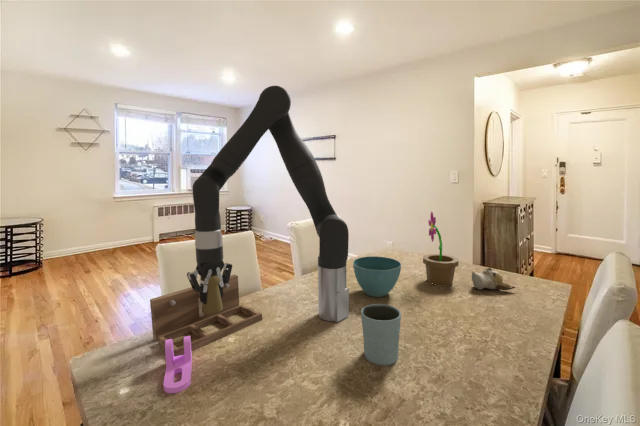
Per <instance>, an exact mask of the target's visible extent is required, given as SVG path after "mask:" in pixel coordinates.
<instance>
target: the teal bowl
mask: <svg viewBox="0 0 640 426" xmlns="http://www.w3.org/2000/svg"><path fill="white" fill-rule="evenodd" d="M352 264H353V265H352V268H353V273H354V276H355V279H356V281H357V283H358V285H359V287H360V288H361V289H362V291H363V292H364V293H365V294H366V295H368V296H369V297H372V298H382V297H386V296H387V295H388V294H389V293H391V292H392V290H393V289H394V287H395V286H396V284H397V282H398V280H399V278H400V275H401V271H402V269H401V268H402V263H401V262H400V261H399V260H397V259H395V258H391V257H386V256H378V255H377V256H375V255H374V256H362V257H358V258H356V259H354V260H353V262H352Z"/></svg>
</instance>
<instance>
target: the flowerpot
mask: <svg viewBox="0 0 640 426" xmlns="http://www.w3.org/2000/svg"><path fill="white" fill-rule="evenodd" d="M429 215H430V219H428V226H429V227H430V228H429V229H428V237H430V239H431V242H434V239H435V235H437V236H438V241H439V246H438V250H439V253H432V254H431V253H430V254H426V255H423V257H422V264H424V265H425V271H426V281H428V282H427V283H429V282H430V283H433V284H436V285H435V286H437V285H449V286H451V285H450V284H452V285H453V283H454V281H453V280H454V277H455V272H456V268H457V267H458V266H459V264H460V263H459V261H460V260H459V258H458V257H455V256H453V255H447V254H443V242H442V235H441V233H440V231H439V229H438V227H437V226H436V222H437V220H436V216H434V212H433V211H430V214H429ZM430 283H429V284H430ZM433 284H432V285H433Z"/></svg>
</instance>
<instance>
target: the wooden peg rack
mask: <svg viewBox="0 0 640 426" xmlns="http://www.w3.org/2000/svg"><path fill="white" fill-rule="evenodd" d="M239 289H240V288H239V275H237V274H232V275H230V279H229V283H228V284H225V285H224V286H223V297H222V299H221V300H222V305H223V310H222V311H220V312H218V313H214V314H205V313H203V312H202V304H203V303H202V302H201V301H200V292H197V291H194V290H193V288H192V286H191V287H187V288H184V289H181V290H177V291H174V292H171V293H167V294H164V295H161V296H157V297H153V298H151V299H149V303H150V304H149V305H150V306H149V307H150V314H151V325H152V326H151V327H152V339H153V340H154V341H155V342H158V344H159V345H160V346H161V347H162V348H164V349H165V341H166V340H168V339H172V340H175V339H177V338H180V337H182V336H183V337H184V336H186V335H187V334H191V333H192V334H193V335H195V336H196V337H197V338H198V339H196V340H193V341H191V352H194V351H196V350H197V349H198V350H199V349H200V348H202V347H204V346H207V345H208V344H209V345H210V344H211V343H213V342H215V341H218V340H219V339H222V338H224V337H227V336H228V335H231V334H234V333H235V332H237V331H240V330H242V329H245V328H247V327H250V326H251V325H254V324H255V323H258V322H261V321H262V320H263V313H261V312H260V311H256V310H254V309H252V308H250V307H248V306H246V305H244V304H240V293H239V292H240V291H239ZM241 313H243V314H245V315H247V316H248V317H247V318H245V319H243V320H240V321H238V322H236V321H234V320H231V319H230V318H229V317H232V316H234V315H238V314H241ZM215 323H220V324H221V325H223V326H225V327H224V328H222V329H219V330H217V331H214V332H212V333H207V332H206V331H205V330H203V329H202V328H205V327H207V326H210V325H212V324H215ZM173 351H174V357H175V356H180V355H184V344H183V345H181V346H179V347H177V346H176V344H174V343H173Z"/></svg>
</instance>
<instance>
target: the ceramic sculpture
mask: <svg viewBox="0 0 640 426" xmlns="http://www.w3.org/2000/svg"><path fill="white" fill-rule="evenodd" d="M471 281H472V284H473V286H474V288H475V289H476V288H477V289H476V290H480V291H481V290H483V289H488V290H499V291H509V290H513V289H515V288H516V286H512V285H510V284H508V283H505V282H503V276H502V275H501V274H500V273H499V272H498V271H496V270H492V268H489V267H488V268H485V269H484V270H483V271H482V272H478V271H477V272H476V271H471Z"/></svg>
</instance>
